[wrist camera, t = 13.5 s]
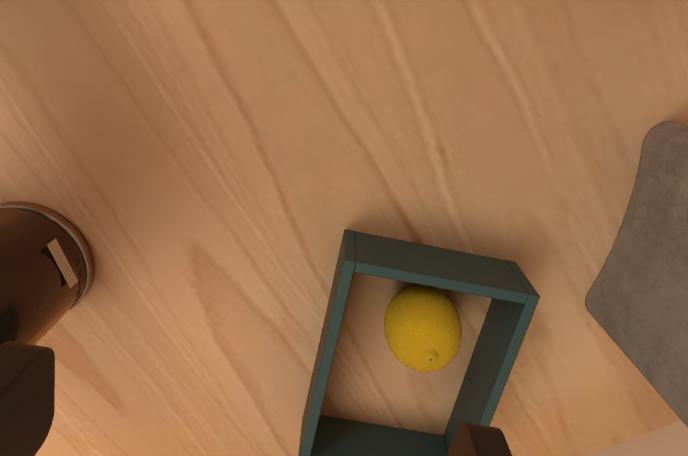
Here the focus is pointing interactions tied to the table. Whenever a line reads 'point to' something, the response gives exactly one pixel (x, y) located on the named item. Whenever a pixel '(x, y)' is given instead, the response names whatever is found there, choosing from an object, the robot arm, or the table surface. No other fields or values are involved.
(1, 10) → the table surface
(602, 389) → the table surface
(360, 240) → the bin
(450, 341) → the lemon
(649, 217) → the hip flask
